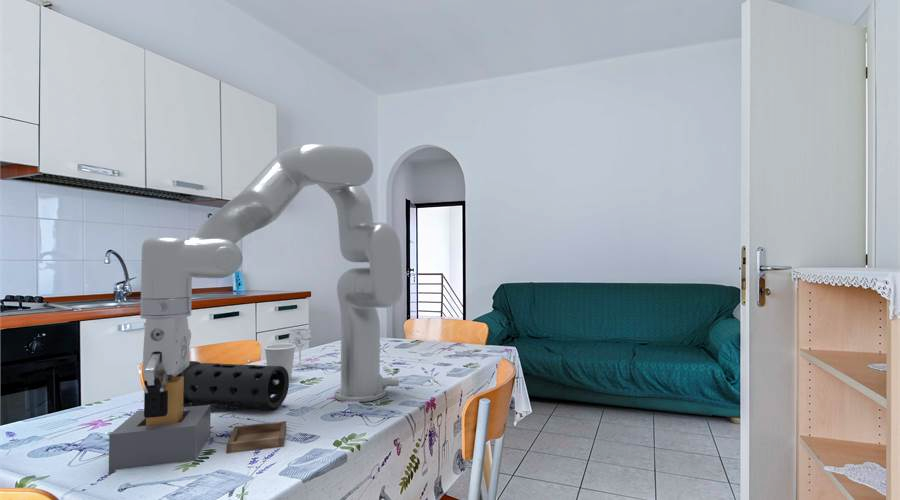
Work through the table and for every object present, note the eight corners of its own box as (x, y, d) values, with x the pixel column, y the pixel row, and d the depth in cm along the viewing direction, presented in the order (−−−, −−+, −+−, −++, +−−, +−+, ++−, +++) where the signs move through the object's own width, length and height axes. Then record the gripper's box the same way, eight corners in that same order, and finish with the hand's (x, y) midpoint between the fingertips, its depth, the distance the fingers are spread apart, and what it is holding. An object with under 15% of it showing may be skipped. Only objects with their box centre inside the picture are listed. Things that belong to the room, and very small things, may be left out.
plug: (182, 432, 81) (183, 364, 82) (176, 441, 77) (177, 370, 77) (153, 435, 80) (155, 366, 80) (145, 445, 75) (146, 372, 76)
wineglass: (284, 370, 141) (284, 331, 141) (295, 365, 147) (295, 328, 148) (304, 371, 140) (305, 332, 140) (314, 366, 146) (315, 328, 147)
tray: (286, 431, 88) (286, 421, 88) (283, 449, 80) (283, 437, 80) (234, 437, 86) (234, 426, 86) (226, 456, 77) (226, 444, 77)
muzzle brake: (265, 419, 96) (265, 370, 96) (153, 411, 102) (153, 365, 102) (290, 405, 105) (290, 360, 106) (185, 399, 111) (186, 356, 111)
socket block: (210, 436, 86) (210, 404, 86) (194, 463, 74) (195, 425, 74) (136, 444, 82) (137, 411, 82) (108, 473, 71) (109, 434, 71)
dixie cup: (284, 376, 133) (284, 342, 133) (301, 380, 128) (302, 345, 128) (257, 382, 126) (257, 346, 126) (275, 387, 121) (275, 349, 121)
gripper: (177, 312, 72) (175, 421, 71) (201, 303, 88) (200, 392, 88) (121, 314, 70) (119, 426, 69) (157, 305, 86) (156, 396, 86)
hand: (165, 407), depth 78 cm, fingers open, 9 cm apart
